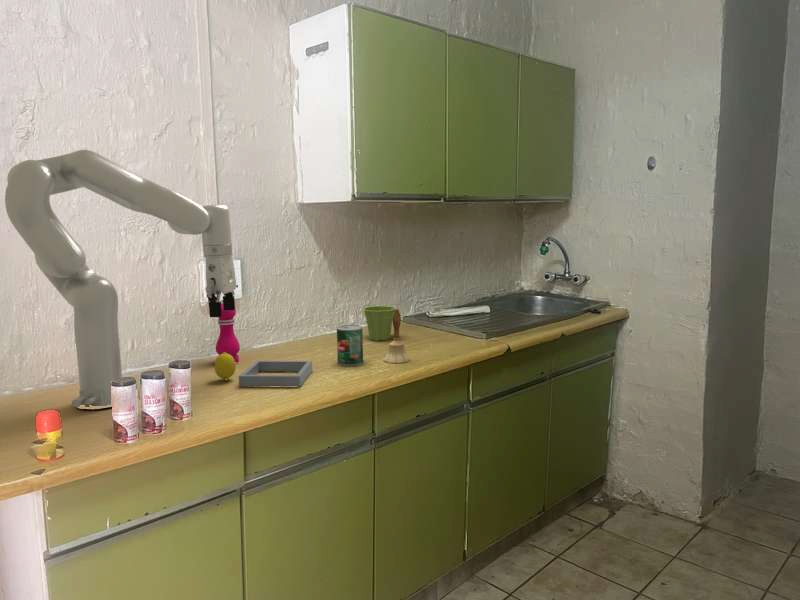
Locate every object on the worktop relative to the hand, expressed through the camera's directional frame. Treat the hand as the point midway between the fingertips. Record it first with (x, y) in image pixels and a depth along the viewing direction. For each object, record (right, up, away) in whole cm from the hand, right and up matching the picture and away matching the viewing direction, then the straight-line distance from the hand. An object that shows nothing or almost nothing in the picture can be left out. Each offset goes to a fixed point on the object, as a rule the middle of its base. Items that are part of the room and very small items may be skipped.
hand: (222, 313), depth 168 cm
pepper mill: (-5, -16, +22) cm, 27 cm away
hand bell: (+48, -15, +22) cm, 54 cm away
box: (+14, -18, +3) cm, 23 cm away
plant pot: (+41, -11, +52) cm, 67 cm away
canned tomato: (+33, -16, +20) cm, 42 cm away
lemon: (0, -19, +2) cm, 19 cm away
